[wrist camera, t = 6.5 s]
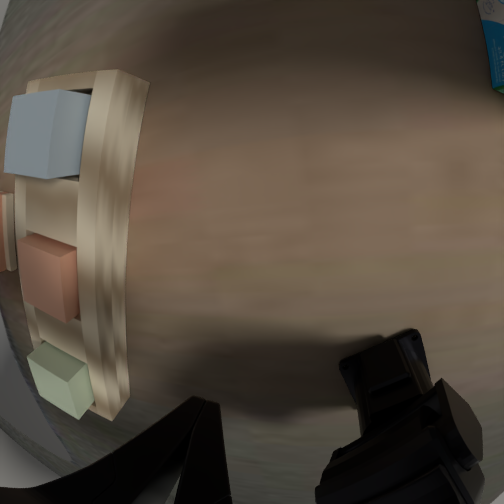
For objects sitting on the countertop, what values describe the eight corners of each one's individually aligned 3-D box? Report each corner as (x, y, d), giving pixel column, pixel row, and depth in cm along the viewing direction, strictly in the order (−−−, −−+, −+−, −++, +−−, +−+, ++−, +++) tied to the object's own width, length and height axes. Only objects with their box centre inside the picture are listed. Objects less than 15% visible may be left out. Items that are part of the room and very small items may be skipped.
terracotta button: (89, 305, 20) (66, 323, 17) (47, 286, 21) (24, 300, 18) (87, 244, 18) (59, 257, 16) (43, 229, 19) (16, 240, 16)
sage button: (95, 399, 22) (78, 419, 19) (56, 378, 23) (39, 395, 20) (87, 362, 21) (67, 382, 18) (46, 339, 21) (26, 356, 18)
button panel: (130, 395, 26) (112, 421, 22) (64, 362, 27) (43, 382, 23) (150, 82, 17) (117, 69, 13) (62, 87, 18) (28, 81, 14)
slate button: (80, 174, 16) (46, 179, 13) (34, 167, 16) (3, 172, 13) (92, 95, 14) (59, 89, 11) (43, 99, 15) (13, 96, 12)
